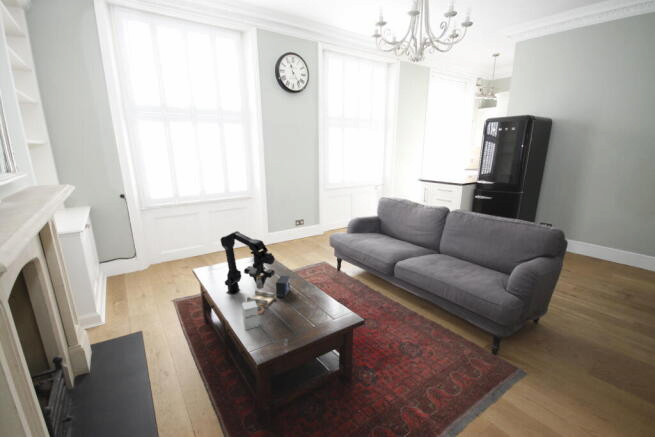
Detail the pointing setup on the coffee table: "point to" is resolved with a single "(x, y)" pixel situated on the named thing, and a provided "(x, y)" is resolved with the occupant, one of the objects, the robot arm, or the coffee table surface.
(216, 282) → the coffee table surface
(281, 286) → the small box
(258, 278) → the cell
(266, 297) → the cradle
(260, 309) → the dish
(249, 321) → the supplement box
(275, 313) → the coffee table surface
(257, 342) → the coffee table surface
